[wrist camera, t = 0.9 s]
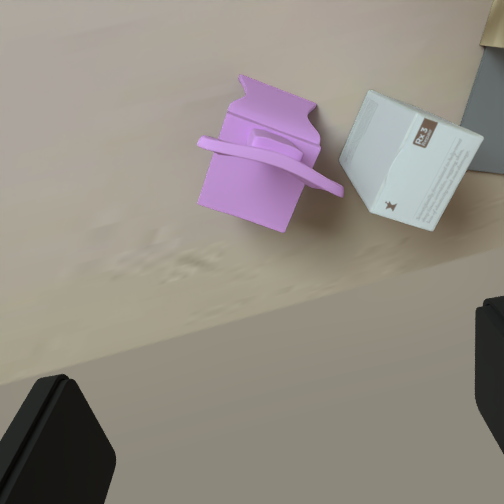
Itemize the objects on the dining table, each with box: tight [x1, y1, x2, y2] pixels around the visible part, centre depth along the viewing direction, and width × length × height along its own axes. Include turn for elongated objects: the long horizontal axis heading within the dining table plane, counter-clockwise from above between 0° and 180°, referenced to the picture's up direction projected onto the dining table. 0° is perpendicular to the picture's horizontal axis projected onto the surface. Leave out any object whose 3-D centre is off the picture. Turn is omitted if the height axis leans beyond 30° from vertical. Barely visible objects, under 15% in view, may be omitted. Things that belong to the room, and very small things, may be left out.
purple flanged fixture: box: [197, 74, 344, 233], centre depth 29 cm, size 8×9×15 cm
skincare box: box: [339, 90, 484, 232], centre depth 30 cm, size 6×4×12 cm
